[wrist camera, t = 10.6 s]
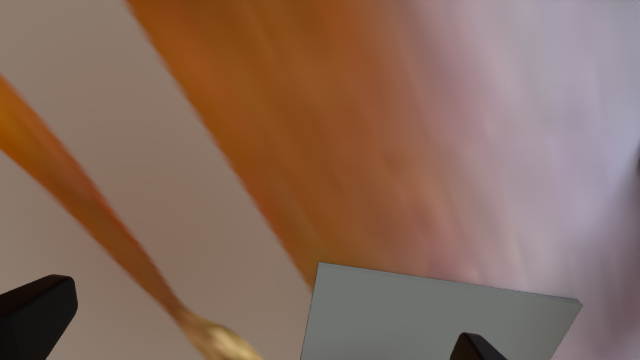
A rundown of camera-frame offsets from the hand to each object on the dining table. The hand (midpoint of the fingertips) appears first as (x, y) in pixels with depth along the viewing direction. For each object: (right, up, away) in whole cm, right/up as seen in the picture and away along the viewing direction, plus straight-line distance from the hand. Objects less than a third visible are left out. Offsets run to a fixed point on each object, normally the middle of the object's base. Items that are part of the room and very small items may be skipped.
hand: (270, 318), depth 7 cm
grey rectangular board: (+8, -15, +19) cm, 25 cm away
